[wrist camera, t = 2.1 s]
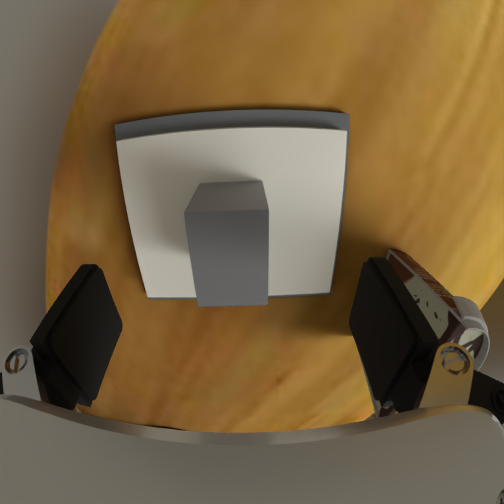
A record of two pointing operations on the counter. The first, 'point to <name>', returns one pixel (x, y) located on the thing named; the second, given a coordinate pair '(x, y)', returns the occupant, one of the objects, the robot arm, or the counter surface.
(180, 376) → the counter surface
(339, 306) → the counter surface
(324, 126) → the mat
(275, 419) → the counter surface
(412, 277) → the food container
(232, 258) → the lid
